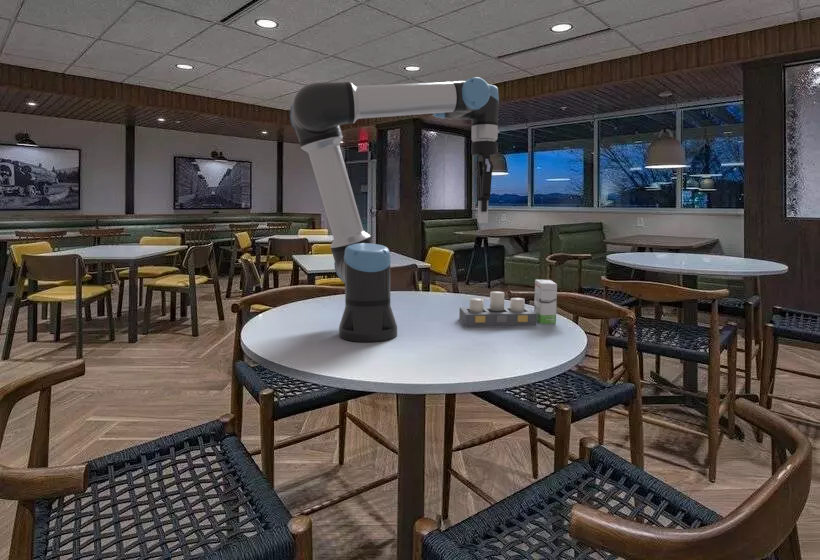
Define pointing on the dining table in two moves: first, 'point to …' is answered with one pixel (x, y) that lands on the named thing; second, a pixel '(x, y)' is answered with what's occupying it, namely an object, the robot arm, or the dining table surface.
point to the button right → (517, 305)
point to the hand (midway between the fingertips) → (482, 222)
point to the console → (497, 317)
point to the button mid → (497, 301)
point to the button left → (476, 305)
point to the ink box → (545, 301)
